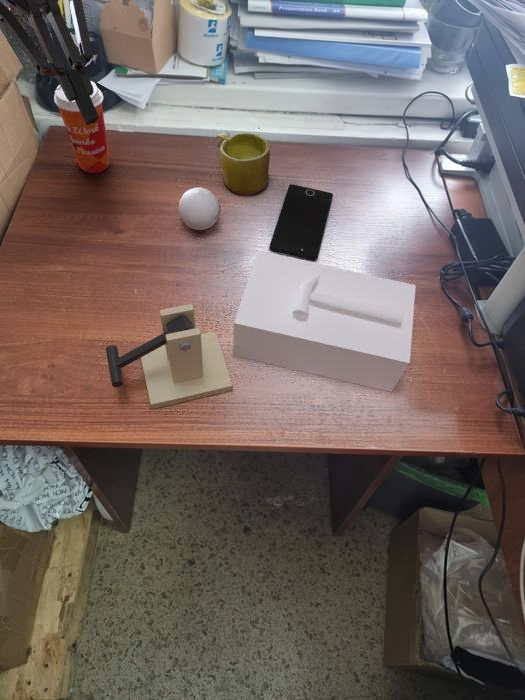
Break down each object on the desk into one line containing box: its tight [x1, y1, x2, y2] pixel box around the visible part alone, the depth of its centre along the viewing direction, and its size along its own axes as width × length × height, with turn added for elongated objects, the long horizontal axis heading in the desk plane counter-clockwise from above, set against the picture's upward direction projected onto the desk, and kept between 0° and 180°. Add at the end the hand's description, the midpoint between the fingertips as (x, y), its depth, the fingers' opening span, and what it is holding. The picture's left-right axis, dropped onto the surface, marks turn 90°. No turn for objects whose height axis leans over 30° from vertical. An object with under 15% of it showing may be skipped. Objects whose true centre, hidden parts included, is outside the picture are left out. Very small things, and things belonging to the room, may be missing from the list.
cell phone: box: [268, 183, 334, 262], centre depth 95 cm, size 9×18×1 cm, turn 166°
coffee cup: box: [53, 80, 111, 174], centre depth 94 cm, size 8×8×15 cm
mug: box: [216, 131, 271, 196], centre depth 98 cm, size 12×10×10 cm
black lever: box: [105, 315, 194, 388], centre depth 68 cm, size 13×6×2 cm, turn 107°
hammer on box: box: [232, 250, 417, 393], centre depth 77 cm, size 14×25×11 cm, turn 77°
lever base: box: [140, 303, 234, 410], centre depth 71 cm, size 12×10×13 cm
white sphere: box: [177, 187, 221, 231], centre depth 91 cm, size 10×7×7 cm
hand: (92, 121), depth 72 cm, fingers closed
